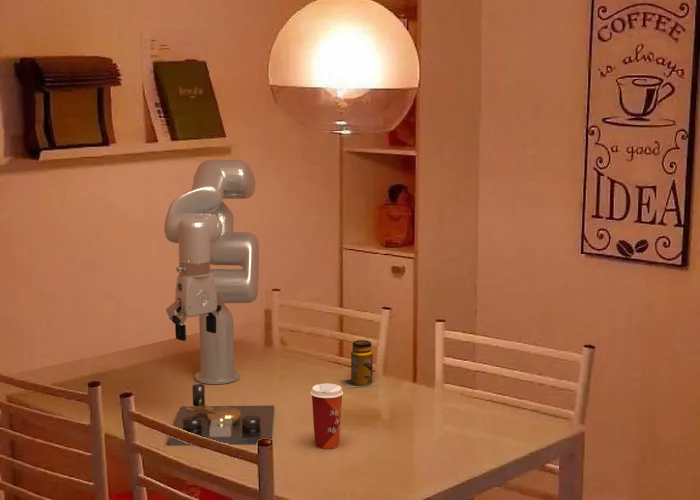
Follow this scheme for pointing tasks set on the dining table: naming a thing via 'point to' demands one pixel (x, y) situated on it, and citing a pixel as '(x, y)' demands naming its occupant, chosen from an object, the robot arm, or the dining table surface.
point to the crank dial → (210, 411)
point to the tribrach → (227, 425)
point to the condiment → (361, 365)
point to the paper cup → (327, 414)
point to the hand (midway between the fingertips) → (196, 335)
